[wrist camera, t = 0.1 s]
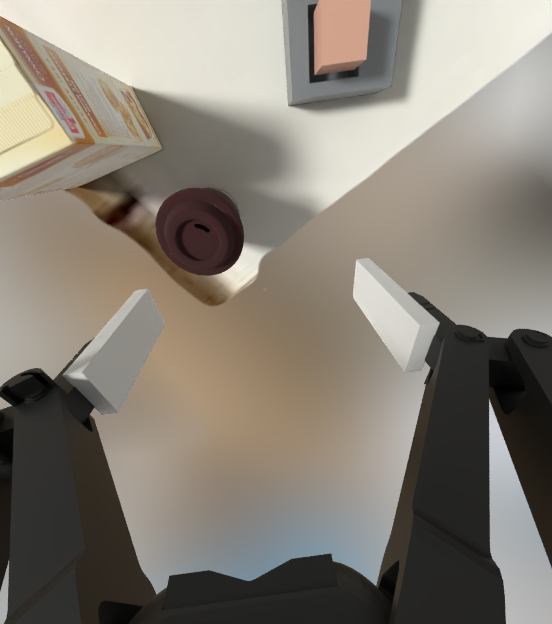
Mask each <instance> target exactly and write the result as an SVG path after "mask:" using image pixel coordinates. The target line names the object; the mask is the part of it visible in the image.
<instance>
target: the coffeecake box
mask: <svg viewBox="0 0 552 624" xmlns="http://www.w3.org/2000/svg"><path fill="white" fill-rule="evenodd" d="M161 149H162V146H161V144H160V142H159V140H158V138H157V136H156V134H155V132H154V130H153V128H152V126H151V124H150V122H149V120H148V118H147V116H146V114H145V112H144V111H143V108H142V106H141V104H140V102H139V100H138V98H137V97H136V95H135V93H134V91H133V89H132V87H131V86H129V85H127V84H125V83H123V82H121V81H119V80H117V79H115V78H114V77H112V76H110V75H108V74H106V73H104V72H103V71H101V70H99V69H97V68H95V67H93V66H91V65H90V64H88V63H86V62H84V61H82V60H80V59H79V58H77V57H75V56H73V55H71V54H69V53H67V52H66V51H64V50H62V49H60V48H58V47H56V46H54V45H53V44H51V43H49V42H47V41H45V40H43V39H42V38H40V37H38V36H36V35H34V34H32V33H30V32H29V31H27V30H25V29H23V28H21V27H19V26H17V25H16V24H14V23H12V22H10V21H8V20H6V19H4V18H3V17H1V16H0V201H4V200H9V199H15V198H21V197H25V196H32V195H37V194H42V193H47V192H53V191H58V190H64V189H70V188H75V187H79V186H81V185H84V184H86V183H88V182H91V181H93V180H95V179H98V178H100V177H102V176H104V175H106V174H109V173H111V172H113V171H115V170H118V169H120V168H122V167H124V166H127V165H129V164H131V163H133V162H136V161H138V160H140V159H142V158H144V157H146V156H149V155H151V154H153V153H155V152H157V151H159V150H161Z"/></svg>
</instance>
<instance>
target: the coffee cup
mask: <svg viewBox="0 0 552 624" xmlns="http://www.w3.org/2000/svg"><path fill="white" fill-rule="evenodd" d="M156 234H157V238H158V241H159V243H160V246H161V248H162V250H163V251H164V252H165V254H166V255H167V257H168V258H169V259H170V260H171V261H172V262H173V263H175V264H176V265H177V266H178V267H180V268H182V269H184V270H185V271H188V272H190V273H193V274H197V275H207V276H209V275H216V274H220V273H222V272H224V271H226V270H228V269H229V268H230V267H232V266H233V265H234V264H235V263H236V261H237V260H238V258H239V256H240V254H241V252H242V248H243V242H244V231H243V226H242V223H241V220H240V216H239V212H238V209H237V206H236V204H235V202H234V200H233V199H232V198H231V196H229V195H228V194H227V193H226V192H224V191H222V190H219V189H214V188H203V189H202V188H188V189H184V190H181V191H179V192H176V193H175V194H173V195H171V196H170V197H168V198H167V199H166V200H165V201H164V202H163V204H162V205H161V207H160V209H159V211H158V213H157V217H156Z"/></svg>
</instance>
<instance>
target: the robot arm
mask: <svg viewBox="0 0 552 624" xmlns="http://www.w3.org/2000/svg"><path fill="white" fill-rule="evenodd" d="M353 298H354V300H355V301H356V302H357V304H358V305H359V307H360V308H361V310H362V311H363V313H364V314H365V316H366V317H367V318H368V320H369V321H370V323H371V324H372V326H373V327H374V329H375V330H376V332H377V333H378V334H379V336H380V337H381V339H382V340H383V342H384V343H385V344H386V346H387V348H388V349H389V350H390V352H391V353H392V354H393V356H394V358H395V359H396V361H397V362H398V363H399V365H400V366H401V368H402V369H403V371H404V372H413V371H420V370H422V368H423V365H424V362H425V361H426V363H427V364H428V365H429V366H430V367H431V368H430V371H429V373H428V376H427V378H426V380H425V383H424V384H426V386H425V390H424V395H423V399H422V404H421V408H420V412H419V416H418V421H417V425H416V429H415V434H414V437H413V442H412V446H411V450H410V455H409V459H408V463H407V468H406V472H405V476H404V480H403V484H402V489H401V493H400V497H399V502H398V506H397V510H396V515H395V519H394V523H393V527H392V531H391V535H390V539H389V542H388V544H387V547H386V550H385V553H384V557H383V561H382V565H381V569H380V573H379V577H378V581H377V585H376V586H375V585H374V584H373V583H372V582H371V581H369V580H368V579H367V578H366V577H364V576H363V575H362V574H360V573H359V572H357V571H356V570H354V569H352V568H350V567H348V566H346V565H344V564H341V563H337V562H333V561H332V555H331V554H324V555H317V556H310V557H303V558H295V559H291V560H289V561H287V562H285V563H284V564H282V565H280V566H278V567H276V568H274V569H273V570H271V571H269V572H267V573H265V574H264V575H262V576H260V577H258V578H256V579H254V580H252V581H245V580H241V579H238V578H234V577H231V576H227V575H224V574H220V573H216V572H213V571H209V570H208V571H202V572H194V573H186V574H179V575H172V576H169V581H168V586H167V588H165V589H164V590H162V591H161V592H160V593H158V594H157V595H156V593H155V590H154V588H153V586H152V584H151V582H150V581H149V580H148V578H147V577H146V576H145V574H144V573H143V571H142V570H141V567H140V565H139V562H138V559H137V556H136V553H135V549H134V546H133V543H132V540H131V536H130V533H129V530H128V527H127V524H126V520H125V517H124V514H123V511H122V507H121V504H120V501H119V498H118V495H117V492H116V488H115V485H114V482H113V478H112V475H111V472H110V469H109V466H108V462H107V459H106V456H105V453H104V450H103V446H102V443H101V440H100V437H99V433H98V430H97V427H96V424H95V421H94V419H93V418H92V417H91V415H90V413H91V412H92V410H93V409H94V407H95V408H96V409H97V410H98V411H99V412H100V413H101V414H102V415H103V414H111V413H118V412H119V411H120V409H121V407H122V405H123V403H124V401H125V399H126V397H127V395H128V393H129V391H130V390H131V387H132V386H133V384H134V382H135V380H136V378H137V376H138V374H139V372H140V371H141V369H142V367H143V365H144V363H145V361H146V359H147V357H148V355H149V353H150V352H151V350H152V348H153V346H154V344H155V342H156V340H157V338H158V336H159V334H160V333H161V331H162V329H163V327H164V325H165V322H164V320H163V318H162V316H161V314H160V312H159V310H158V308H157V306H156V304H155V302H154V300H153V298H152V296H151V294H150V292H149V290H148V289H143V290H136V291H135V292H134V293H133V294H132V295H131V297H130V298H129V299H128V300H127V301H126V303H124V305H123V306H122V307H121V308H120V309H119V310H118V312H117V313H116V314H115V315H114V316H113V317H112V318H111V320H110V321H109V322H108V323H107V324H106V325H105V327H104V328H103V329H102V330H101V331H100V332H99V333H98V335H97V336H96V337H95V338H93V339H92V340H91V341H89V342H88V343H86V344H85V345H84V346H83V347H82V348H81V350H80V351H79V352H78V354H76V355H75V356H74V358H73V360H71V361H70V362H69V363H68V364H67V366H66V367H65V368H64V369H63V370H62V371H61V372H60V373H59V374H58V376H57V377H56V378H55V379H54V380H52V379H51V378H50V377H49V376H48V375H47V374H46V373H45V372H44V371H43V370H41V369H39V368H34V369H30V370H27V371H24V372H22V373H20V374H18V375H16V376H14V377H12V378H11V379H10V380H8V381H7V382H5V383H4V384H3V385H2V386H1V387H0V397H2V398H3V399H4V400H6V401H7V402H8V403H10V404H11V405H12V406H10V407H7V408H5V409H2V410H0V590H1V586H2V583H3V579H4V576H5V572H6V568H7V565H8V561H9V588H8V612H7V618H6V621H5V623H4V624H506V618H505V595H504V585H503V579H502V576H501V573H500V569H499V568H498V566H497V565H496V563H495V562H494V561H493V559H492V556H491V553H490V522H489V521H490V512H489V511H490V510H489V399H490V402H491V405H492V407H493V410H494V413H495V416H496V418H497V421H498V423H499V426H500V429H501V432H502V434H503V437H504V440H505V442H506V445H507V448H508V451H509V453H510V456H511V459H512V462H513V464H514V467H515V470H516V472H517V475H518V478H519V481H520V483H521V486H522V489H523V491H524V494H525V497H526V499H527V502H528V505H529V508H530V510H531V513H532V515H533V518H534V521H535V524H536V527H537V529H538V532H539V535H540V537H541V540H542V543H543V545H544V548H545V551H546V554H547V556H548V559H549V562H550V564H551V567H552V337H551V336H549V335H547V334H545V333H541V332H539V331H536V330H530V329H517V330H514V331H513V332H512V333H511V334H510V336H509V337H508V338H495V337H487V336H486V335H485V334H484V333H483V332H481V331H479V330H477V329H476V328H472V327H470V326H465V325H456V324H455V323H454V322H453V321H451V320H450V319H449V318H448V317H447V316H446V315H444V314H443V313H442V312H441V311H440V310H438V309H436V307H435V306H434V305H432V304H430V302H429V301H428V300H427V299H425V298H424V297H423V296H421V295H418V294H416V293H414V292H411V293H407V292H405V291H404V290H403V289H402V288H401V287H400V286H399V285H398V284H397V283H395V282H394V281H393V280H392V279H391V278H390V277H389V276H388V275H387V274H386V273H385V272H383V271H382V270H381V269H380V268H379V267H378V266H377V265H376V264H375V263H373V261H371V260H370V259H369V258H364V259H357V260H356V270H355V279H354V290H353Z"/></svg>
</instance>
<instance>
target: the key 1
mask: <svg viewBox="0 0 552 624" xmlns="http://www.w3.org/2000/svg"><path fill="white" fill-rule="evenodd" d="M370 6H371V0H319V2H318V4H317V6H316V9H315V11H314V72H315V75H321V74H328V73H335V72H342V71H348V70H354V69H356V68H357V67H358V66H359V65H360V64H361V63H363V62H364V61H365V60H366V57H367V45H368V32H369V19H370Z"/></svg>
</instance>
